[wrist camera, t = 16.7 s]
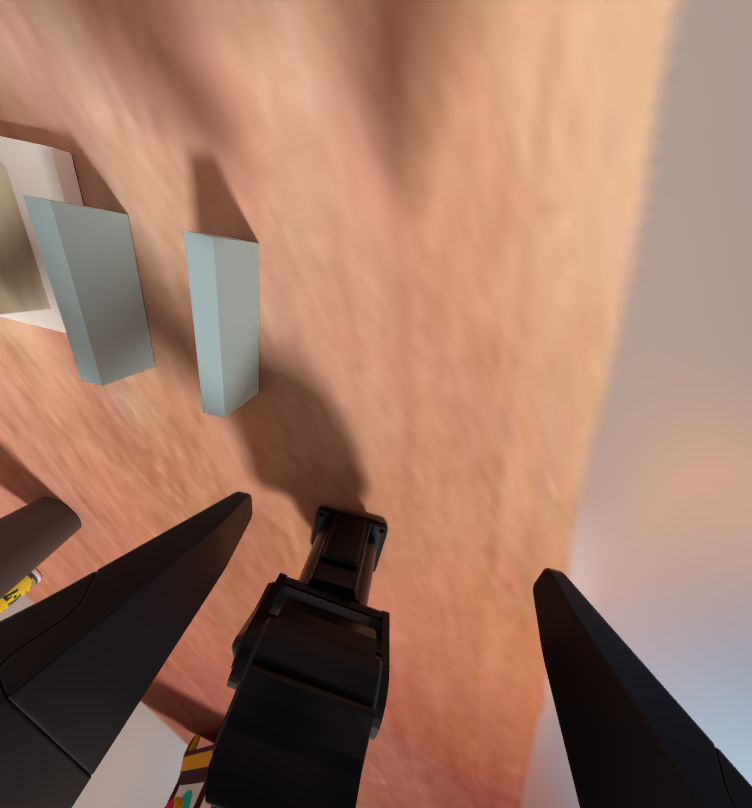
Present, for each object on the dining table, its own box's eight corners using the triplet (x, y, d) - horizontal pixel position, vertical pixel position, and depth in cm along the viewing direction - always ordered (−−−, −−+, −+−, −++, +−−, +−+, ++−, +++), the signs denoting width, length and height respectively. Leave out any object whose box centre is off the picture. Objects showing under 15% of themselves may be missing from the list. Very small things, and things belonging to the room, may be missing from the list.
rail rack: (258, 392, 21) (225, 417, 18) (137, 361, 22) (81, 380, 18) (258, 243, 17) (213, 237, 13) (105, 209, 17) (22, 195, 14)
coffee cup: (105, 538, 34) (-9, 634, 25) (58, 538, 36) (-63, 628, 27) (61, 486, 31) (-87, 574, 22) (12, 489, 33) (-142, 572, 24)
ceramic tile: (115, 338, 21) (101, 341, 20) (-14, 306, 22) (-32, 308, 21) (70, 153, 16) (50, 146, 15) (-95, 118, 17) (-124, 110, 16)
